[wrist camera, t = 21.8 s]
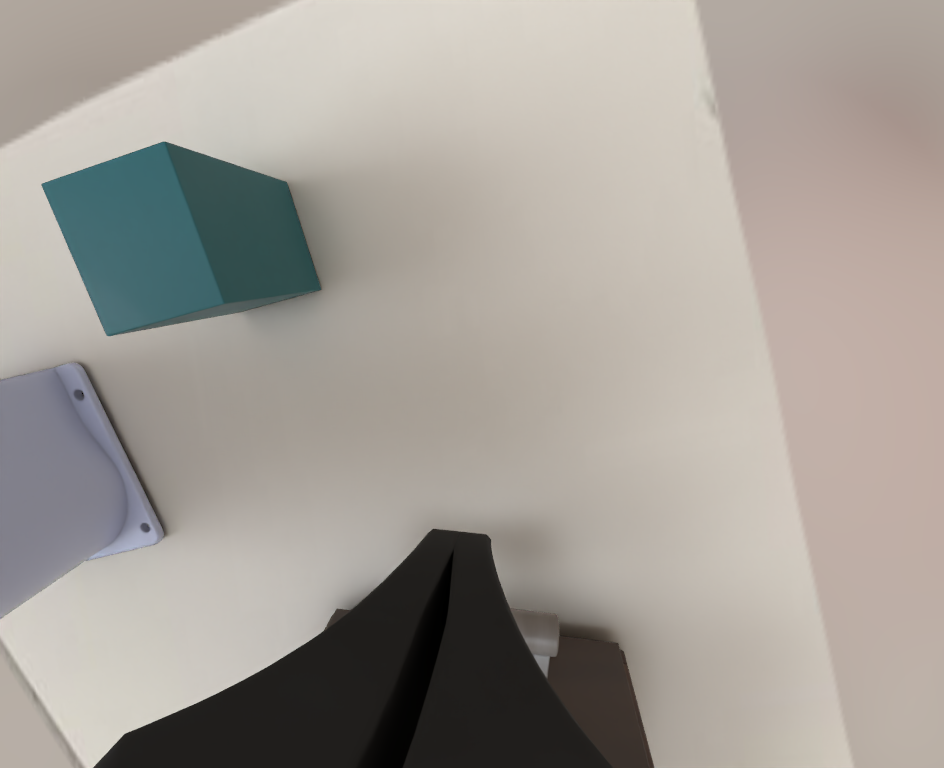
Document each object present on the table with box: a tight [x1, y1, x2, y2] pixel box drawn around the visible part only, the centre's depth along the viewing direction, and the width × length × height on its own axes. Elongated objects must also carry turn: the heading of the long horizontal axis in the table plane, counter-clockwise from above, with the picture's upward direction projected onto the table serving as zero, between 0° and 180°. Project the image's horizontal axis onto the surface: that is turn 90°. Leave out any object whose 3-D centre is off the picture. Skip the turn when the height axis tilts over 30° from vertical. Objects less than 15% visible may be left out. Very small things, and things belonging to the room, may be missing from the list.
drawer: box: [326, 609, 650, 768], centre depth 21 cm, size 18×13×6 cm
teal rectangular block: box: [42, 142, 321, 336], centre depth 17 cm, size 4×4×7 cm
